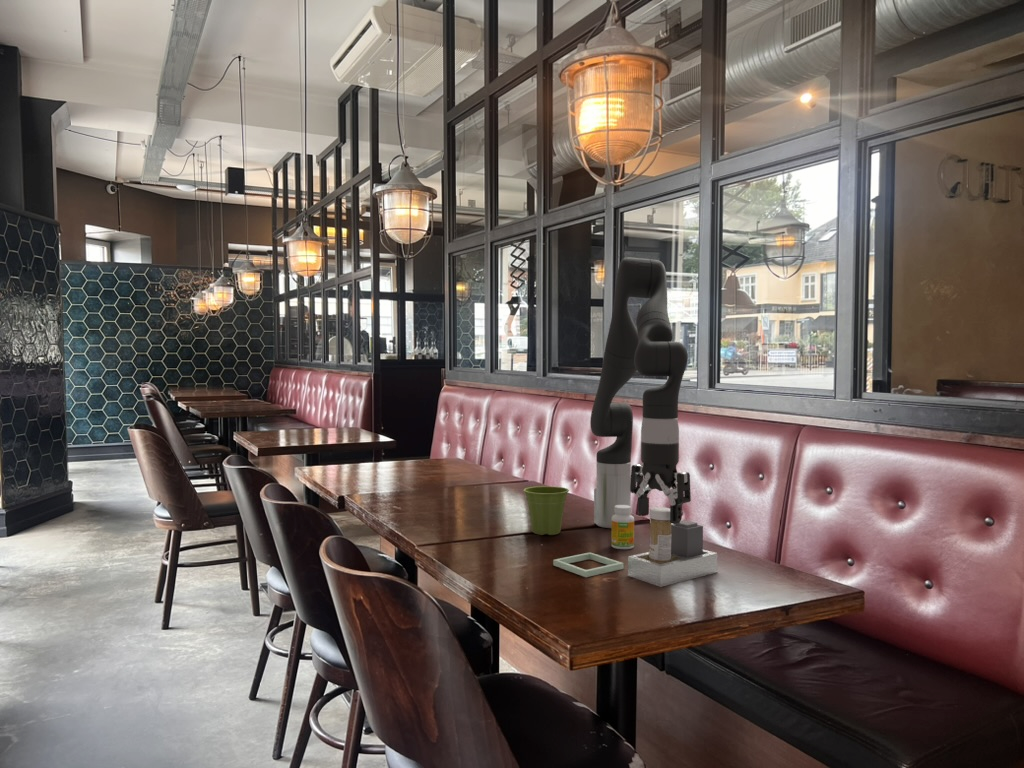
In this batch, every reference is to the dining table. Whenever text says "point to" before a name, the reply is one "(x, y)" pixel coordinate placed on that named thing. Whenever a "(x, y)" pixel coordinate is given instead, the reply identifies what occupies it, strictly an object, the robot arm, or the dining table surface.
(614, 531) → the supplement bottle
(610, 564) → the tray frame
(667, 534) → the sprinkles bottle
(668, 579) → the divided grey caddy
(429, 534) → the dining table surface
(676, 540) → the grey stepped square plug
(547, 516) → the plant pot
